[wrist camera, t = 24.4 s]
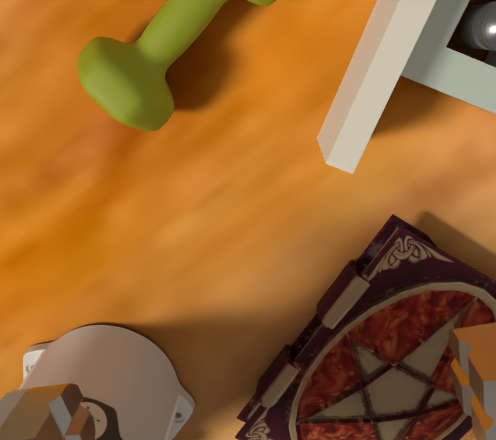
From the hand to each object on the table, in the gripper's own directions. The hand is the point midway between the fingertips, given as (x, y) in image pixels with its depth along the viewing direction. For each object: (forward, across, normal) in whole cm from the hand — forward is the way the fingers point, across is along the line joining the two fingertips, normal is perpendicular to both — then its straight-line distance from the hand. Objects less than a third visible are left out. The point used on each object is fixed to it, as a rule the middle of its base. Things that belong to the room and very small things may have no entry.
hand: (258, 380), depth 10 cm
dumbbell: (+32, +5, -9) cm, 33 cm away
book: (+32, -6, +27) cm, 43 cm away
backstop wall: (+31, -11, -7) cm, 34 cm away
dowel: (+31, -16, -4) cm, 35 cm away
